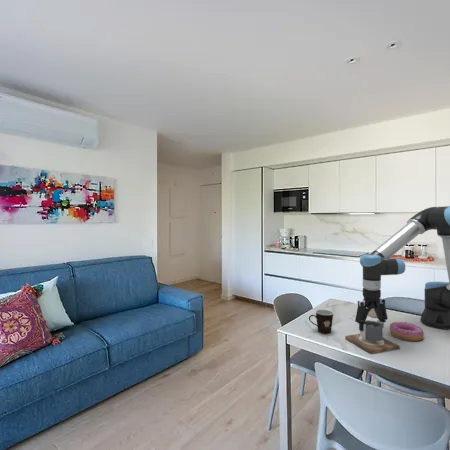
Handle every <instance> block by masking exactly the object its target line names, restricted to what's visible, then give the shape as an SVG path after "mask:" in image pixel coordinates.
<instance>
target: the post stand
mask: <svg viewBox="0 0 450 450" xmlns="http://www.w3.org/2000/svg"><path fill="white" fill-rule="evenodd" d="M369 326H373V325H369ZM373 327H374V326H373ZM344 337H345V339H344V340H346V341H348V342H349V343H351V344H352V345H355V346H356V347H358V348H359V349H361V350H363V351H364V352H366V353H367V354H370V355H374V354H379V353H385V352H389V351H390V352H391V351H396V350H400V349H401V345H400V344H397V343H396V342H393V341H392V340H389V339H387V338H385V337H383V340H381V341H371V340H366V339H364V338H362V337H360V333H356V334H349V335H345V336H344Z"/></svg>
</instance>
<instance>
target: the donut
mask: <svg viewBox="0 0 450 450" xmlns="http://www.w3.org/2000/svg"><path fill="white" fill-rule="evenodd" d="M389 333H391V335H392V336H393V337H395V338H398V339H401V340H403V341H408V342H418V341H419V342H420V341H421V340H423V338H424V329H422V327H421V326H418V325H416V324H414V323H411V322H406V321H405V322H403V321H395V322H391V323H389Z"/></svg>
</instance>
